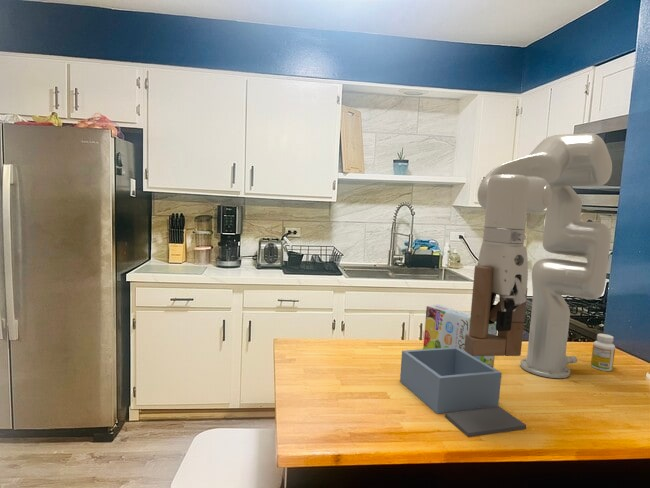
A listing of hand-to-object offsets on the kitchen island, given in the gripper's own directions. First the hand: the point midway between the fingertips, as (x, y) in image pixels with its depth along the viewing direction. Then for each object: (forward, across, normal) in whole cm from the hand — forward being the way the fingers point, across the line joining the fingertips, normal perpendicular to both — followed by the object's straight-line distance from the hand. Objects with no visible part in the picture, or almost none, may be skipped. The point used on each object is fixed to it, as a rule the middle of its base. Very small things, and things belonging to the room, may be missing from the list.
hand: (495, 326), depth 88 cm
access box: (+21, +15, 0) cm, 25 cm away
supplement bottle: (+21, +20, -56) cm, 63 cm away
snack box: (+21, +31, -14) cm, 40 cm away
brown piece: (+6, 0, 0) cm, 6 cm away
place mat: (+21, +1, 0) cm, 21 cm away
